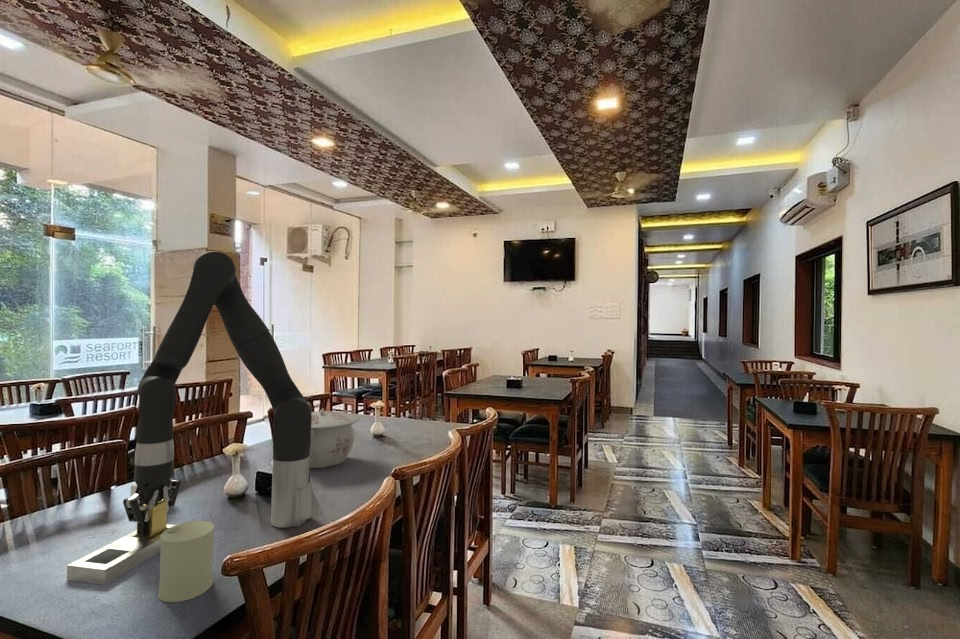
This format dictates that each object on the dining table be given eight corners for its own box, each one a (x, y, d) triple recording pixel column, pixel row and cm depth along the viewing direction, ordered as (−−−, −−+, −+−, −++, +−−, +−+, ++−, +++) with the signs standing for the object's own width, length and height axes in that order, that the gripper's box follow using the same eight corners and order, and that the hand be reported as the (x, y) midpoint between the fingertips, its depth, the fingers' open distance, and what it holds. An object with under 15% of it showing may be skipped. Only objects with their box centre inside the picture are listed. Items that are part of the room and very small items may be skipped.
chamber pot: (329, 448, 190) (330, 399, 190) (373, 462, 174) (374, 408, 174) (264, 464, 167) (266, 408, 167) (308, 481, 151) (310, 419, 151)
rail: (183, 538, 110) (183, 525, 110) (104, 584, 91) (105, 569, 91) (151, 534, 112) (151, 522, 112) (66, 580, 92) (67, 565, 92)
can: (175, 575, 94) (177, 518, 95) (221, 575, 95) (223, 518, 95) (146, 603, 85) (148, 539, 85) (198, 602, 86) (200, 539, 86)
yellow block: (166, 534, 108) (167, 500, 108) (151, 541, 104) (152, 507, 104) (151, 532, 109) (152, 499, 109) (136, 540, 105) (137, 505, 105)
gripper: (141, 470, 99) (139, 548, 99) (192, 452, 113) (189, 520, 113) (112, 467, 100) (109, 545, 100) (165, 450, 114) (163, 517, 114)
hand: (152, 531), depth 107 cm, fingers closed on yellow block, 4 cm apart
